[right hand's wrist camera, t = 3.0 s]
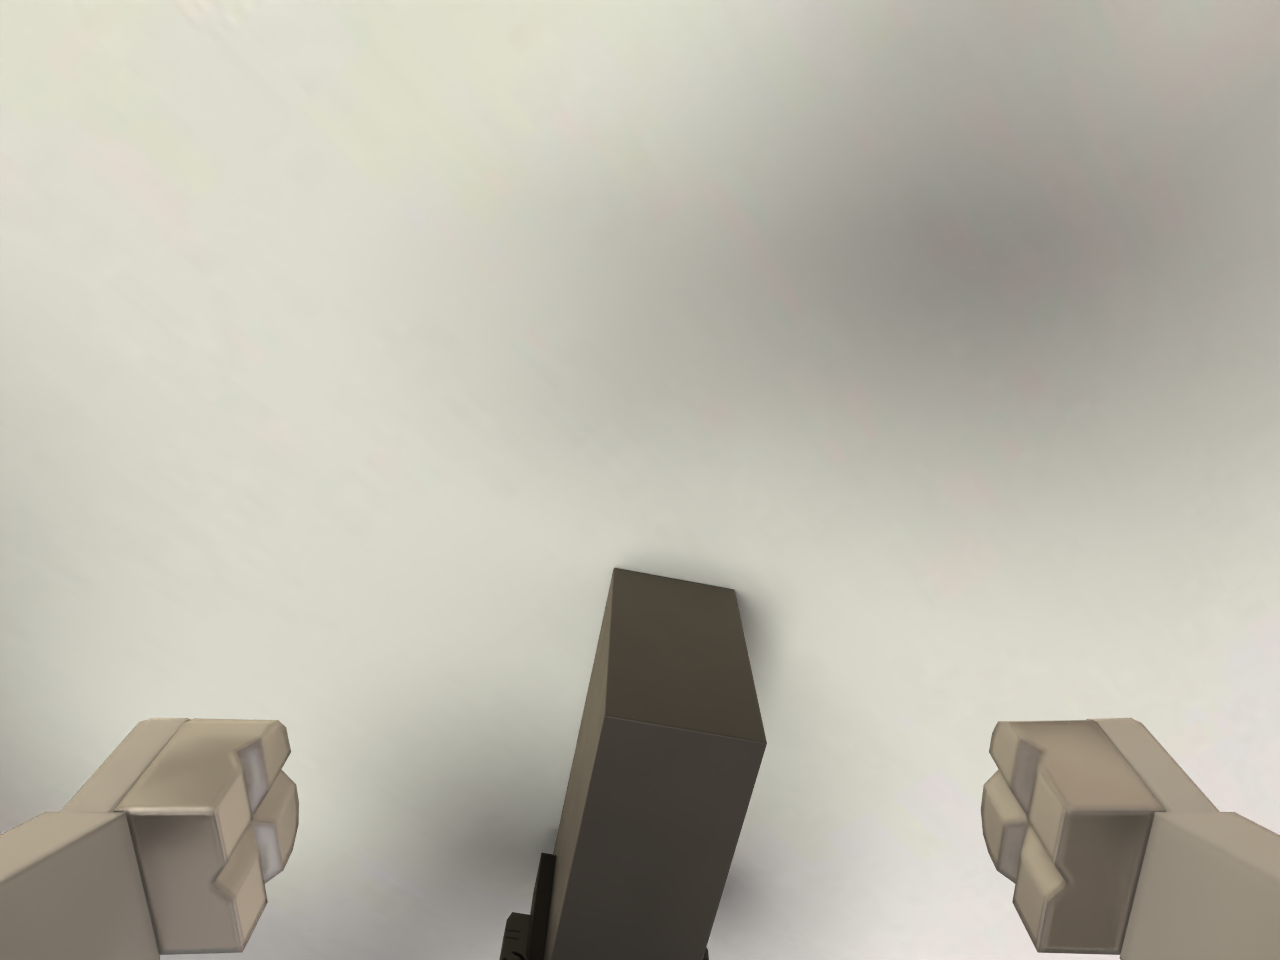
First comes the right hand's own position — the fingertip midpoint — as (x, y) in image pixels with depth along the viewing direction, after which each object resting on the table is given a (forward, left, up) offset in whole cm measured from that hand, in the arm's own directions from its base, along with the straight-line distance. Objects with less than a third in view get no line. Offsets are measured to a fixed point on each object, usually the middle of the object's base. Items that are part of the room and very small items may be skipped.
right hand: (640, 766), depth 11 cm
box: (+13, +19, -31) cm, 38 cm away
